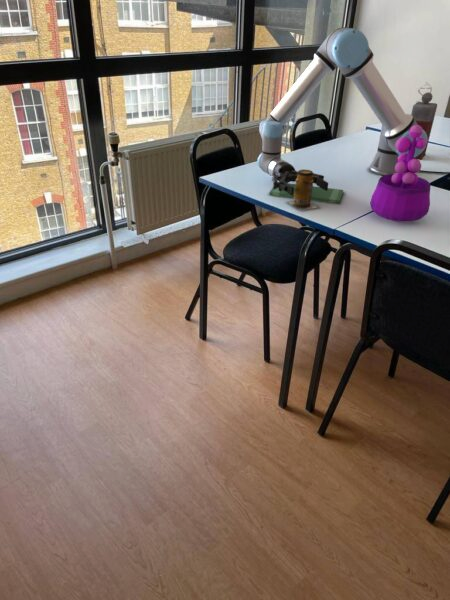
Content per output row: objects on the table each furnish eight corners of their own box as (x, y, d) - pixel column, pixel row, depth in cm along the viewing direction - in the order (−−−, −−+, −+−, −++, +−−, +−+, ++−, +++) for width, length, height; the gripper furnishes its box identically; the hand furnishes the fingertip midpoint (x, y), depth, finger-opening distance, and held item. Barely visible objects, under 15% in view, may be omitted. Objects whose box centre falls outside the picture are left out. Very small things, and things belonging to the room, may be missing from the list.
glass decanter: (426, 154, 222) (441, 91, 206) (421, 160, 214) (436, 95, 198) (407, 151, 226) (420, 89, 210) (401, 157, 217) (415, 93, 202)
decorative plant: (364, 223, 152) (382, 128, 135) (370, 204, 166) (387, 116, 150) (425, 232, 146) (451, 134, 130) (426, 211, 161) (449, 121, 144)
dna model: (419, 149, 228) (435, 83, 212) (406, 148, 230) (420, 83, 213) (417, 146, 234) (432, 81, 218) (404, 145, 235) (418, 81, 219)
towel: (343, 192, 176) (343, 189, 175) (339, 203, 166) (339, 200, 165) (277, 184, 183) (277, 181, 182) (269, 194, 173) (269, 191, 172)
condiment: (304, 199, 169) (308, 167, 163) (318, 207, 163) (322, 174, 156) (288, 202, 166) (290, 170, 160) (300, 210, 160) (304, 177, 153)
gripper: (309, 177, 181) (339, 195, 164) (251, 184, 173) (276, 204, 156) (311, 158, 177) (342, 174, 160) (252, 164, 169) (278, 182, 152)
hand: (310, 189), depth 158 cm, fingers open, 13 cm apart
